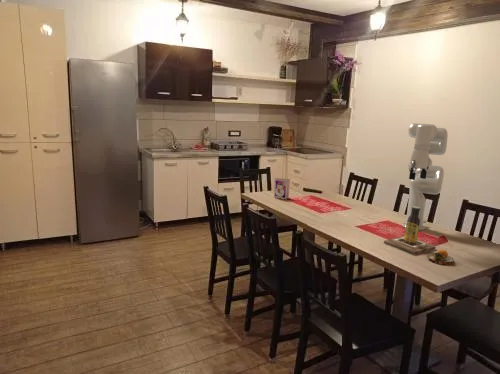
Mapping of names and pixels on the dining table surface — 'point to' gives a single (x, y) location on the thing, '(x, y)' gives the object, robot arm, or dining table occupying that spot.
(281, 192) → the greeting card
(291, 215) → the dining table surface
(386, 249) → the dining table surface
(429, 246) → the walnut board
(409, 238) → the sauce bottle
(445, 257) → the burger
